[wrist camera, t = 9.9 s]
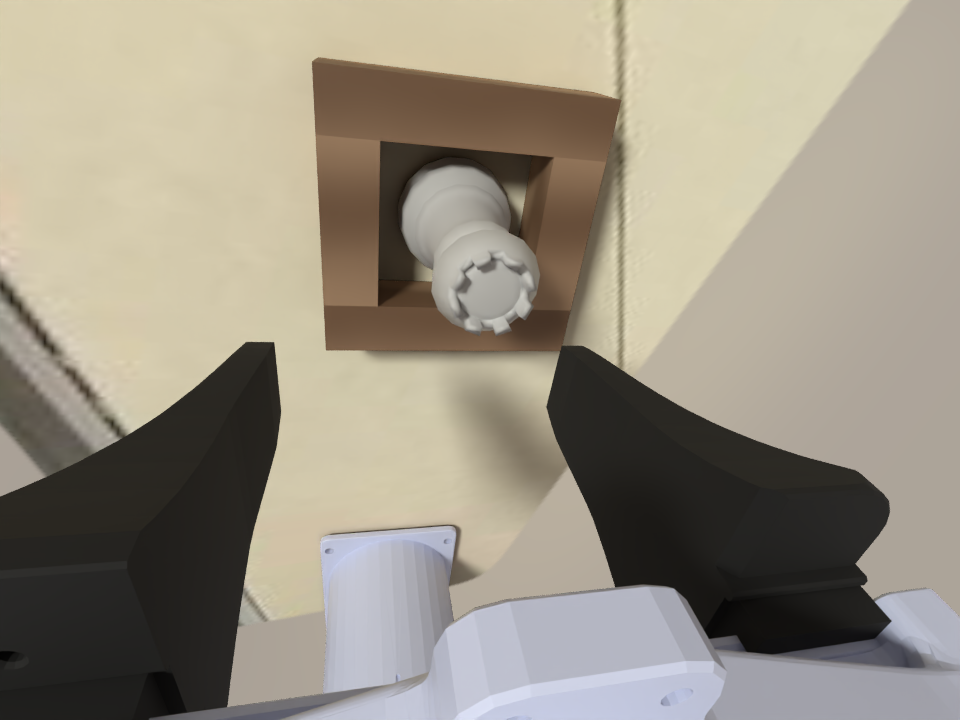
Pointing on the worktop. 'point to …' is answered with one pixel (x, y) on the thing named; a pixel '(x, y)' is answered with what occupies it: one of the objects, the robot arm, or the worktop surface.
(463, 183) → the rook chess piece
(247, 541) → the robot arm
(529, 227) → the walnut docking collar
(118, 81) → the worktop surface
